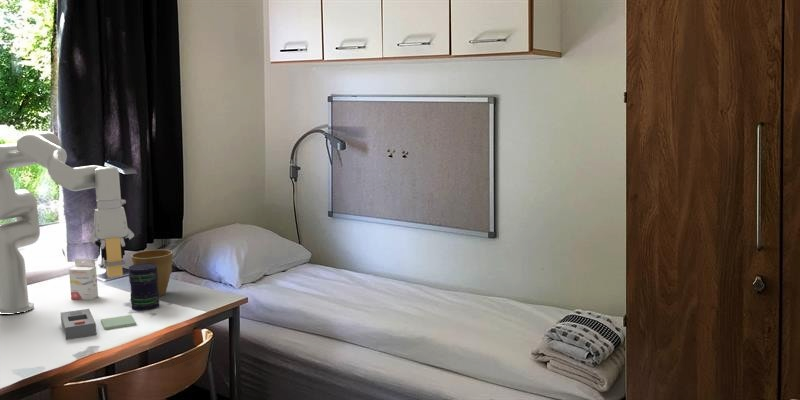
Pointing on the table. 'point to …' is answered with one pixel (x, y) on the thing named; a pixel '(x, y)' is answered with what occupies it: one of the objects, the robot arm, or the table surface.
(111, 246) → the plug
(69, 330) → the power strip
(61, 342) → the table surface
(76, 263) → the ink cartridge box
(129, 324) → the mat
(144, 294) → the storage jar
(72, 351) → the table surface
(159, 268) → the plant pot
